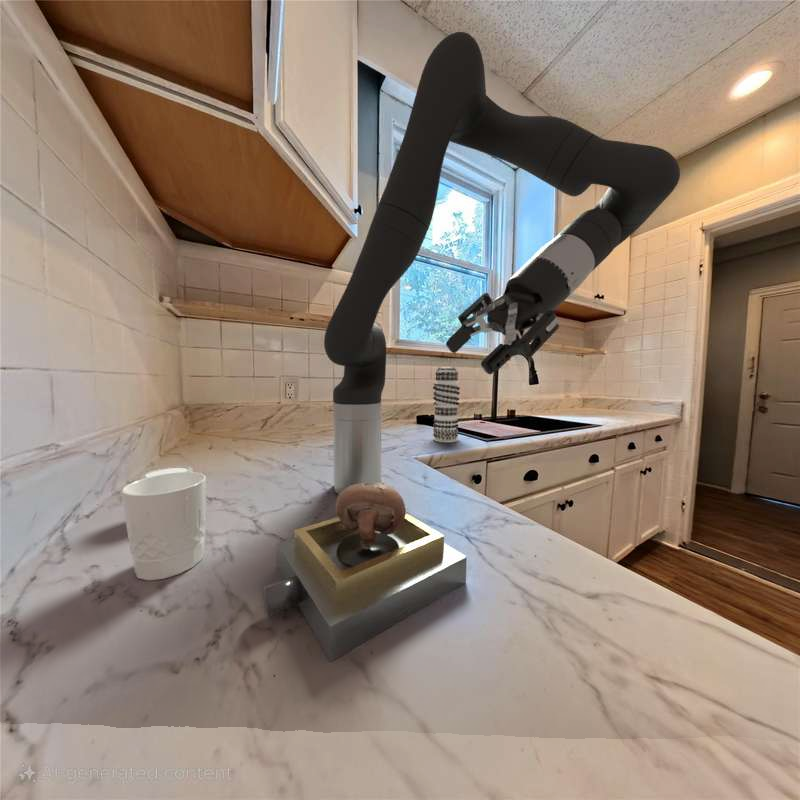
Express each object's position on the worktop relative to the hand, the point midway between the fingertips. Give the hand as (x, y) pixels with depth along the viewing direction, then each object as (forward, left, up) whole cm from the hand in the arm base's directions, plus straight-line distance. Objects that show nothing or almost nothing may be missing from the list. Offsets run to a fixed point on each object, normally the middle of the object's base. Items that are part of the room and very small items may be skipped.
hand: (465, 358), depth 44 cm
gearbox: (0, -18, -25) cm, 31 cm away
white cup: (-15, -35, -25) cm, 46 cm away
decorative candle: (-46, +42, -25) cm, 67 cm away
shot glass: (-31, -35, -25) cm, 53 cm away
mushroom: (+1, -17, -22) cm, 28 cm away
